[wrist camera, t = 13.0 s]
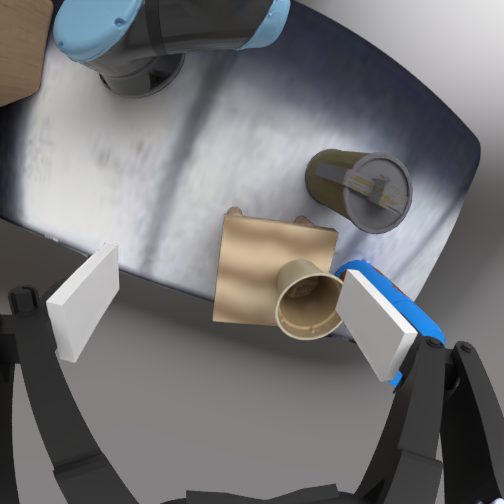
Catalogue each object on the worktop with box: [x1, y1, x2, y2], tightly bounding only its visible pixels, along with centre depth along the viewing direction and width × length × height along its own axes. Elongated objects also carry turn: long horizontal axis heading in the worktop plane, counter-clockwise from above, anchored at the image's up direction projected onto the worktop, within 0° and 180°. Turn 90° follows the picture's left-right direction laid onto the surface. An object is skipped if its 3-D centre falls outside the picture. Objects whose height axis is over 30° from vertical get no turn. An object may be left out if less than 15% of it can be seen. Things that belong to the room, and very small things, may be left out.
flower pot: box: [275, 259, 343, 340], centre depth 38 cm, size 9×9×9 cm
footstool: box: [213, 207, 338, 326], centre depth 47 cm, size 16×16×12 cm
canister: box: [305, 149, 413, 234], centre depth 40 cm, size 11×10×20 cm
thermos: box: [334, 260, 445, 386], centre depth 45 cm, size 11×11×25 cm
